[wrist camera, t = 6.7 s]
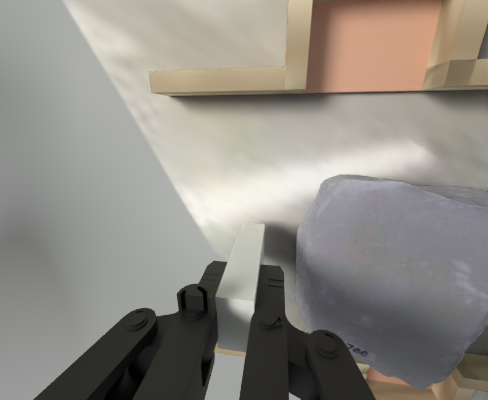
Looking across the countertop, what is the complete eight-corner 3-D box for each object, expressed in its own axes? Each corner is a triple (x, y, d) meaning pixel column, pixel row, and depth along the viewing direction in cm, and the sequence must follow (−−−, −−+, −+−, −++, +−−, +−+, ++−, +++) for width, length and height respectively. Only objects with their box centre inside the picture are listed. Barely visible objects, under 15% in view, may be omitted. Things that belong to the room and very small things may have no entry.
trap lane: (157, -6, 12) (113, -51, 9) (730, -56, 9) (993, -157, 6) (196, 358, 22) (182, 400, 18) (480, 400, 18) (523, 461, 15)
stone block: (324, 171, 10) (604, 221, 8) (313, 156, 14) (494, 186, 13) (273, 361, 14) (453, 415, 12) (277, 302, 18) (410, 337, 17)
